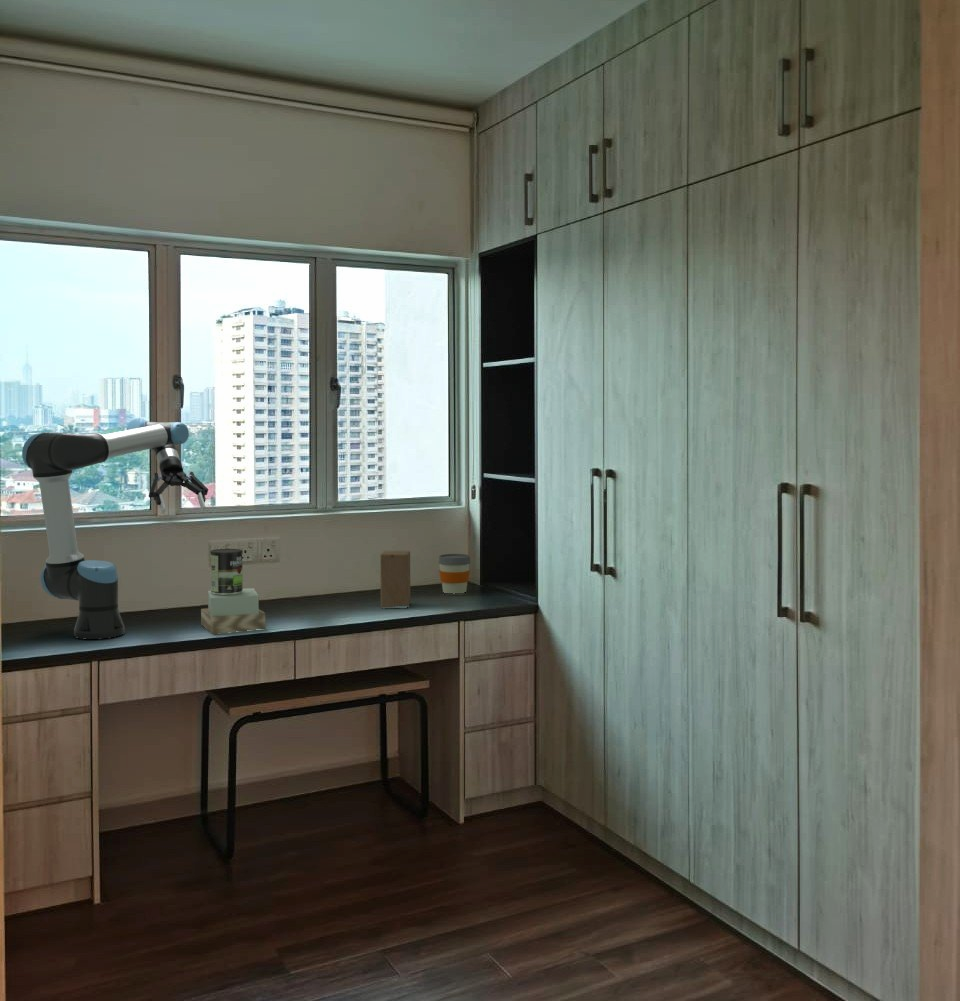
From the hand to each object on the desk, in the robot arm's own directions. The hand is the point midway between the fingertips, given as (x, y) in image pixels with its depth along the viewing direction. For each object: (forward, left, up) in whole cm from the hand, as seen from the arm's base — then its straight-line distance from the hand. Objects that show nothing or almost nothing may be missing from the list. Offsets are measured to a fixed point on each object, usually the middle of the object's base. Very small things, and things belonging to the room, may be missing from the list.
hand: (184, 510), depth 345 cm
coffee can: (+9, -20, -26) cm, 34 cm away
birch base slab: (+10, -21, -38) cm, 45 cm away
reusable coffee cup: (+104, 0, -38) cm, 110 cm away
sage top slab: (+10, -21, -32) cm, 40 cm away
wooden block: (+73, -13, -38) cm, 83 cm away
